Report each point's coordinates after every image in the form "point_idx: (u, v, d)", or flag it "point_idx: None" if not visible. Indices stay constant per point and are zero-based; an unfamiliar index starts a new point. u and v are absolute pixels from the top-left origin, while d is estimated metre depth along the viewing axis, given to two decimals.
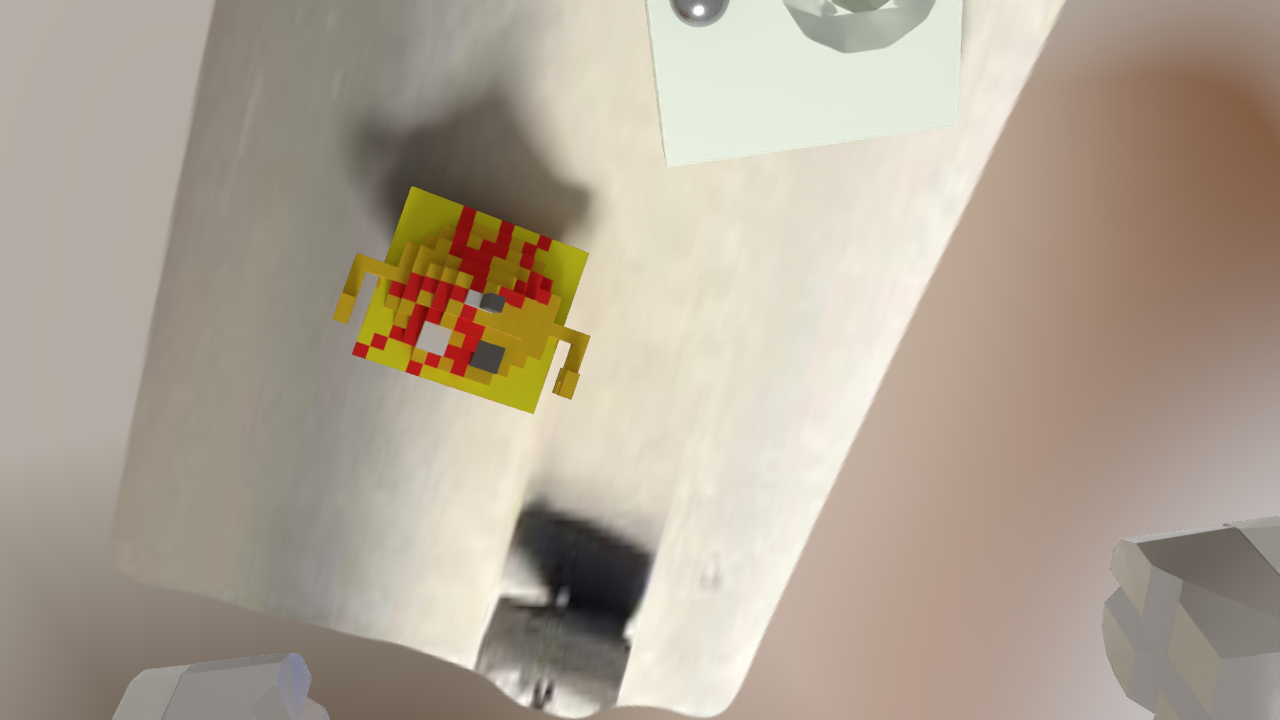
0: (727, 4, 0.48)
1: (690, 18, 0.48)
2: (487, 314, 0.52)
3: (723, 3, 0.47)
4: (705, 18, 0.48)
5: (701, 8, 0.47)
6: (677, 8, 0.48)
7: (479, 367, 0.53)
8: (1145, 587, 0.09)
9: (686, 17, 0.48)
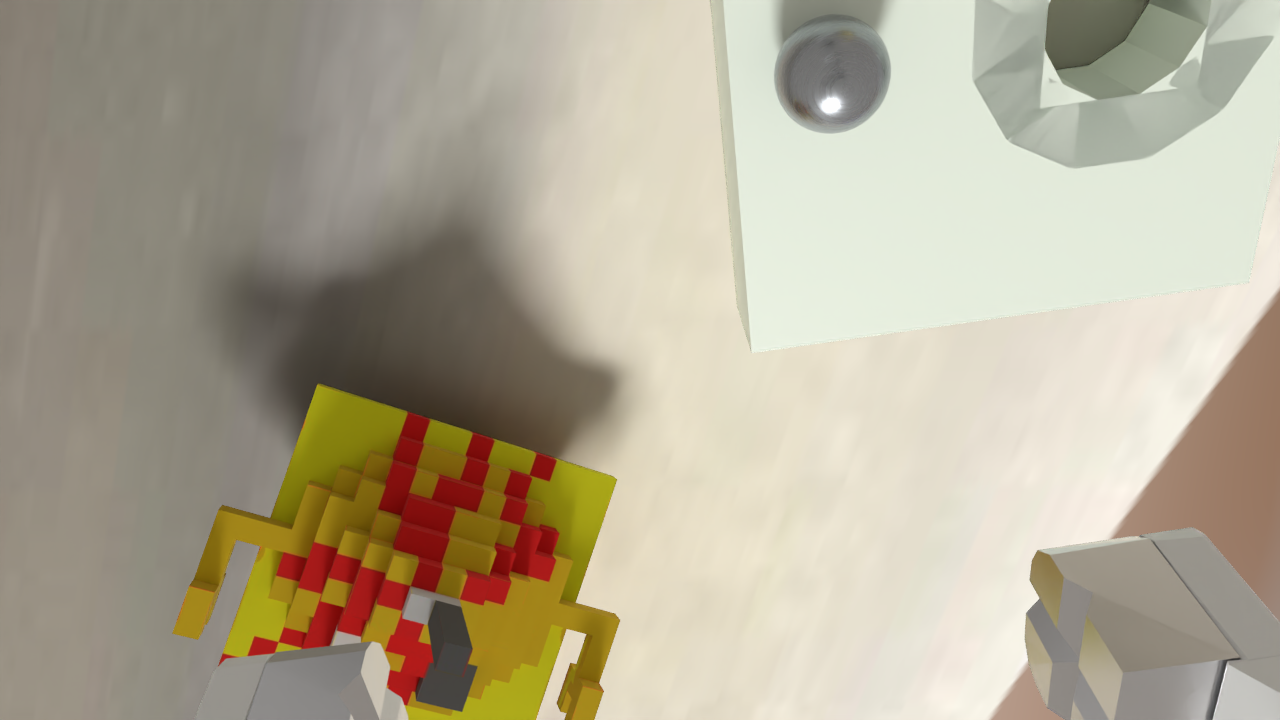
0: (886, 93, 0.25)
1: (817, 120, 0.25)
2: None
3: (881, 93, 0.25)
4: (846, 121, 0.25)
5: (840, 104, 0.25)
6: (793, 102, 0.25)
7: (432, 702, 0.31)
8: (1058, 599, 0.09)
9: (808, 119, 0.25)
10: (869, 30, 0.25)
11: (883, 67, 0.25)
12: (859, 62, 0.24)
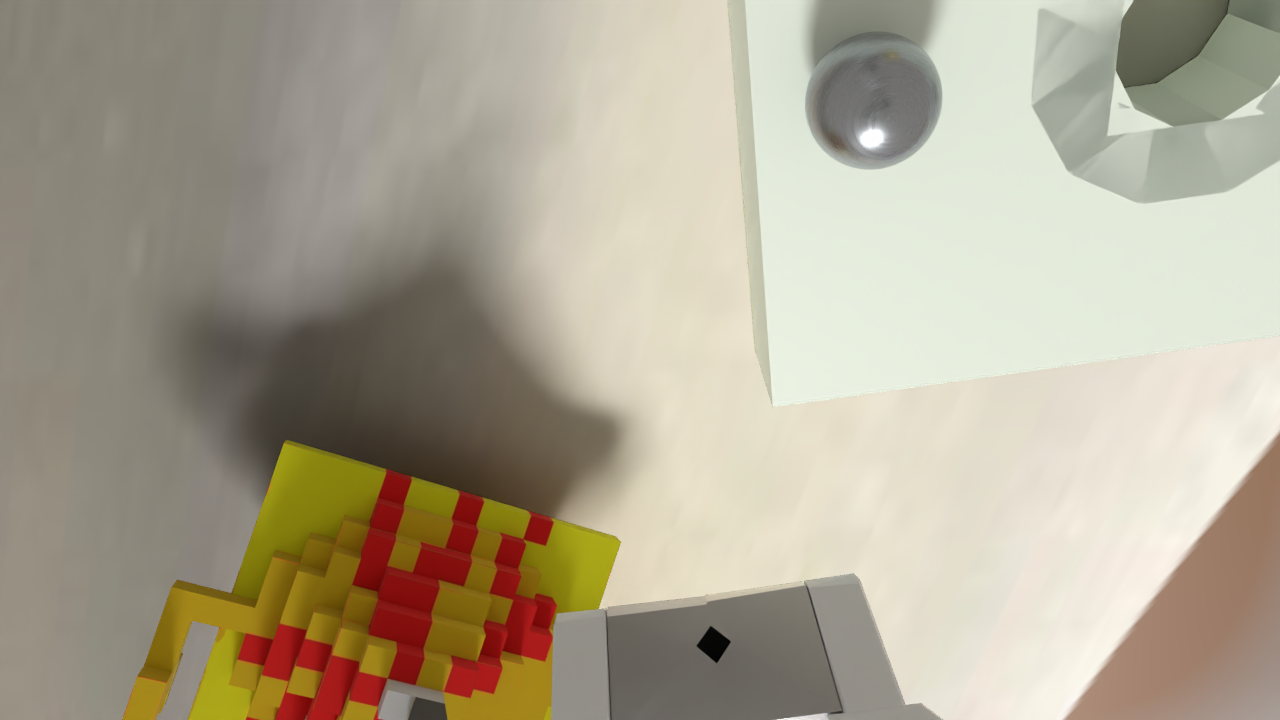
0: (936, 124, 0.22)
1: (856, 156, 0.22)
2: None
3: (931, 124, 0.21)
4: (890, 157, 0.22)
5: (884, 139, 0.21)
6: (828, 134, 0.22)
7: None
8: (712, 646, 0.09)
9: (846, 154, 0.22)
10: (918, 51, 0.21)
11: (934, 94, 0.21)
12: (908, 89, 0.21)
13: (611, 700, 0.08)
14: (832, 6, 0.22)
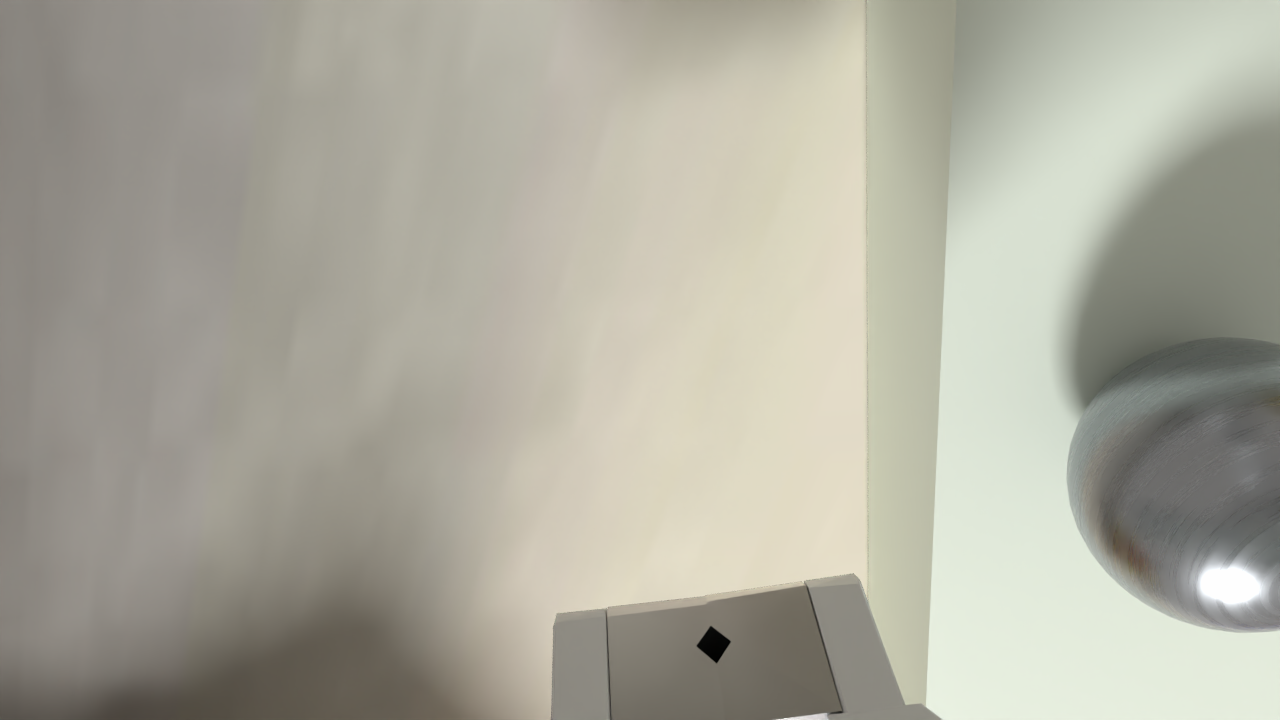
0: None
1: (1204, 620, 0.10)
2: None
3: None
4: None
5: None
6: (1145, 577, 0.10)
7: None
8: (712, 645, 0.09)
9: (1180, 615, 0.10)
10: None
11: None
12: None
13: (611, 700, 0.08)
14: (1129, 267, 0.11)
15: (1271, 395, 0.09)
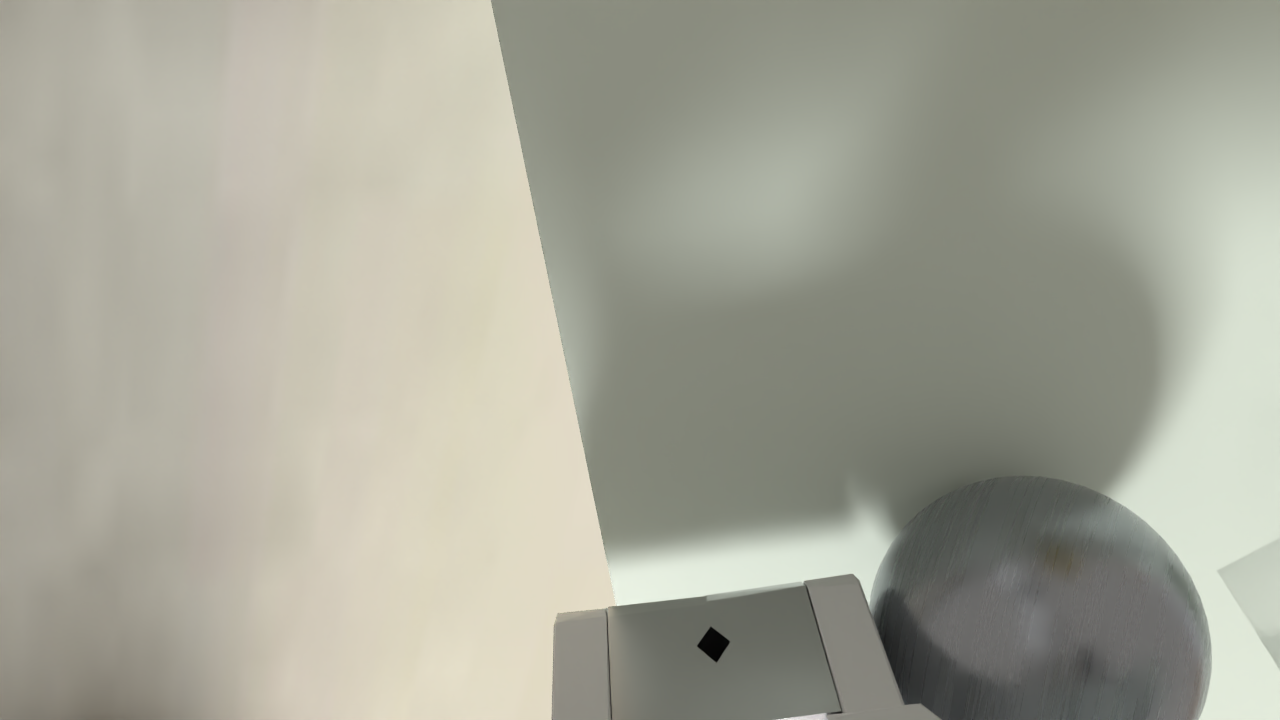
0: None
1: None
2: None
3: None
4: None
5: None
6: None
7: None
8: (712, 646, 0.09)
9: None
10: (1115, 501, 0.09)
11: None
12: (1200, 602, 0.09)
13: (611, 700, 0.08)
14: (782, 415, 0.10)
15: (1099, 543, 0.08)
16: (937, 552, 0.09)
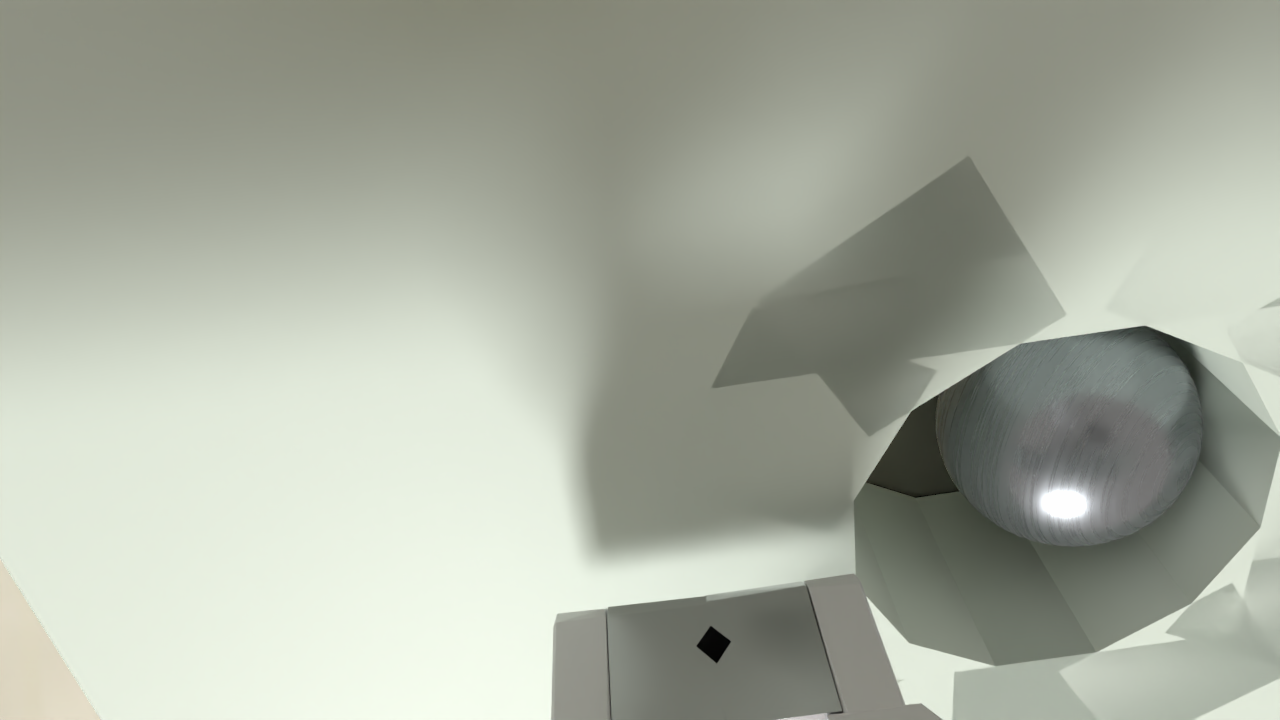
0: None
1: (1104, 538, 0.12)
2: None
3: None
4: (1151, 521, 0.12)
5: (1168, 504, 0.11)
6: (1064, 521, 0.11)
7: None
8: (712, 646, 0.09)
9: (1088, 540, 0.11)
10: None
11: None
12: (1193, 410, 0.11)
13: (611, 700, 0.08)
14: (177, 501, 0.10)
15: (1105, 340, 0.11)
16: None
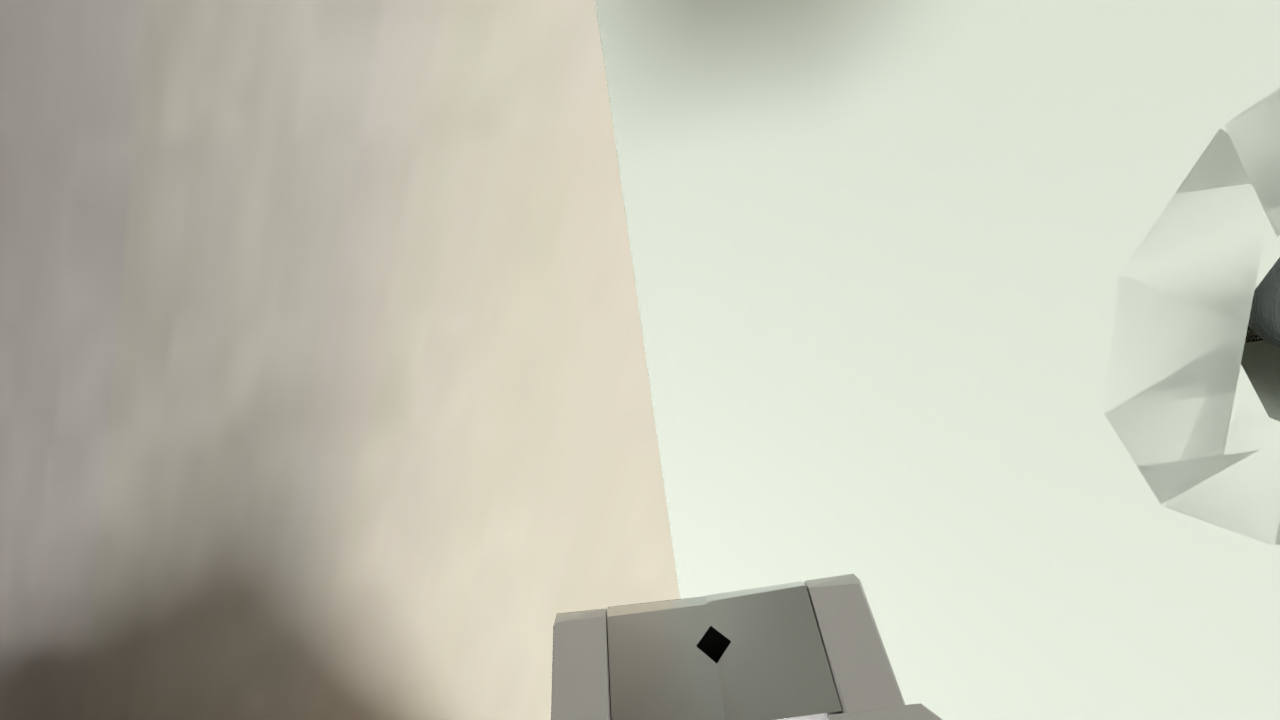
0: None
1: None
2: None
3: None
4: None
5: None
6: None
7: None
8: (712, 646, 0.09)
9: None
10: None
11: None
12: None
13: (610, 700, 0.08)
14: (780, 276, 0.14)
15: None
16: None
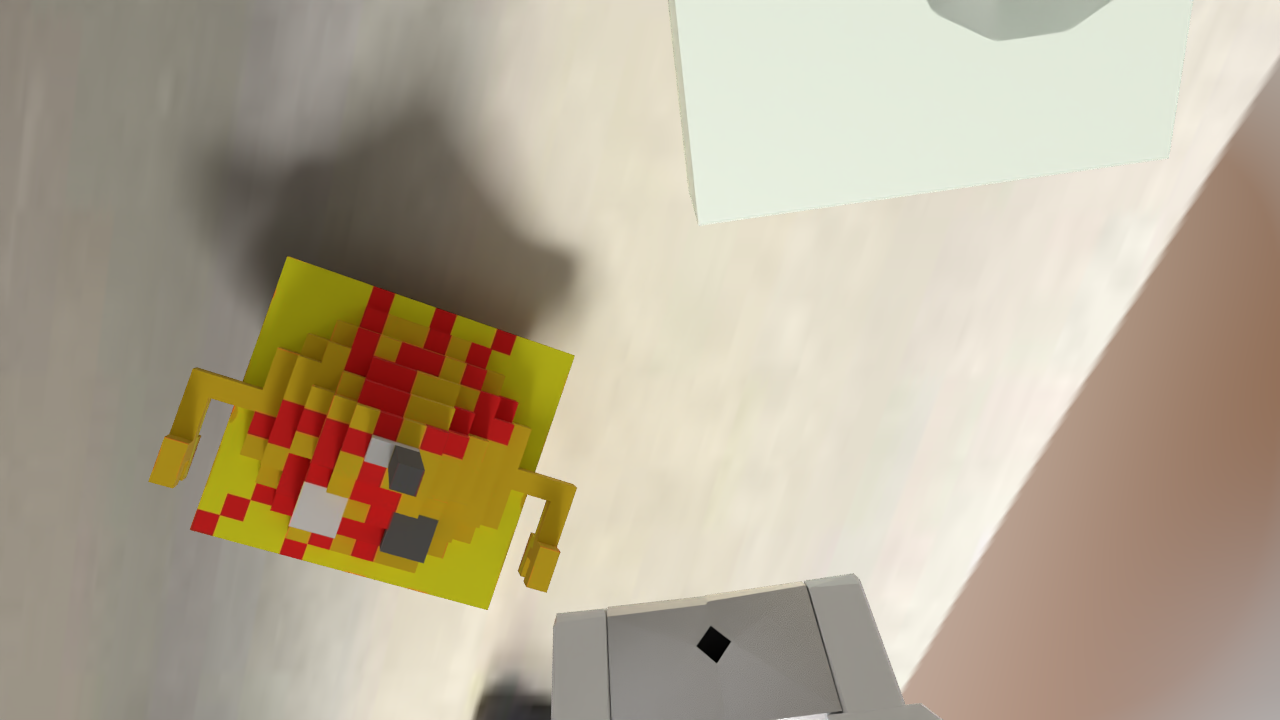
0: None
1: None
2: None
3: None
4: None
5: None
6: None
7: (395, 553, 0.33)
8: (712, 646, 0.09)
9: None
10: None
11: None
12: None
13: (611, 700, 0.08)
14: None
15: None
16: None
